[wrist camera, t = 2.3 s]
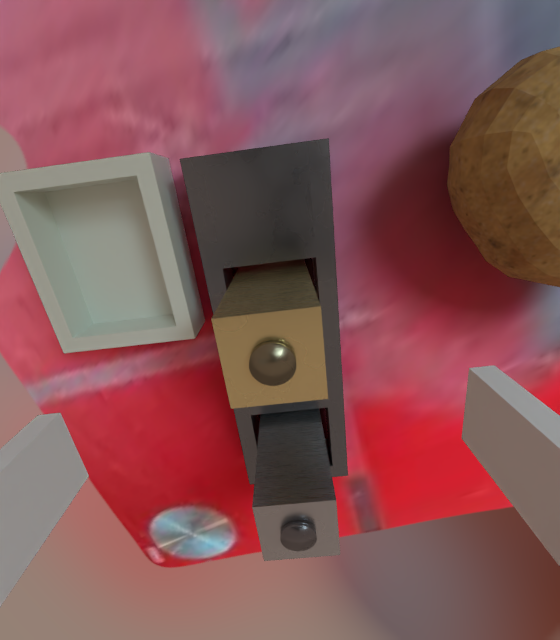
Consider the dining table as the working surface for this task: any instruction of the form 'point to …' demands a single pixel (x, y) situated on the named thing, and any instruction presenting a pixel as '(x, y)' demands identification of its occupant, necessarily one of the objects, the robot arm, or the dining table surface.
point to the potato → (513, 170)
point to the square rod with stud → (294, 488)
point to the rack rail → (272, 252)
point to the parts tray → (106, 250)
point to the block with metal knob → (271, 336)
